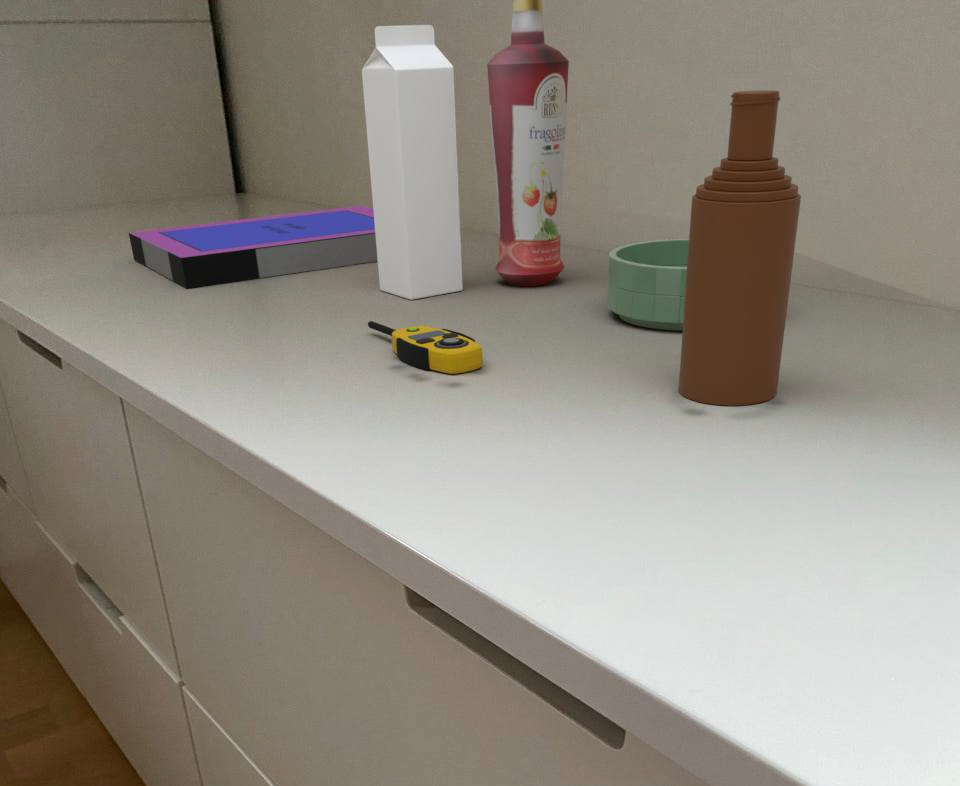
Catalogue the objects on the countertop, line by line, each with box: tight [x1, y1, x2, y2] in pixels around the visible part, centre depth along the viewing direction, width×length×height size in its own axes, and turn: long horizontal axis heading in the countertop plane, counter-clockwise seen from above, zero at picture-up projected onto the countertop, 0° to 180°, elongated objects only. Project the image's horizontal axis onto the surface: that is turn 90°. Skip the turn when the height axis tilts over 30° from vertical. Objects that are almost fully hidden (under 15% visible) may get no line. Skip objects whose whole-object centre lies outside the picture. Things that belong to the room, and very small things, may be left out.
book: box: [128, 205, 378, 290], centre depth 114 cm, size 21×3×30 cm
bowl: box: [607, 238, 689, 332], centre depth 83 cm, size 13×13×5 cm
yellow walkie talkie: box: [367, 320, 484, 375], centre depth 76 cm, size 5×2×15 cm
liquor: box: [486, 0, 570, 287], centre depth 90 cm, size 7×7×28 cm
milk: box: [361, 24, 464, 301], centre depth 90 cm, size 6×6×22 cm
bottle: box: [678, 90, 802, 407], centre depth 61 cm, size 6×6×18 cm
